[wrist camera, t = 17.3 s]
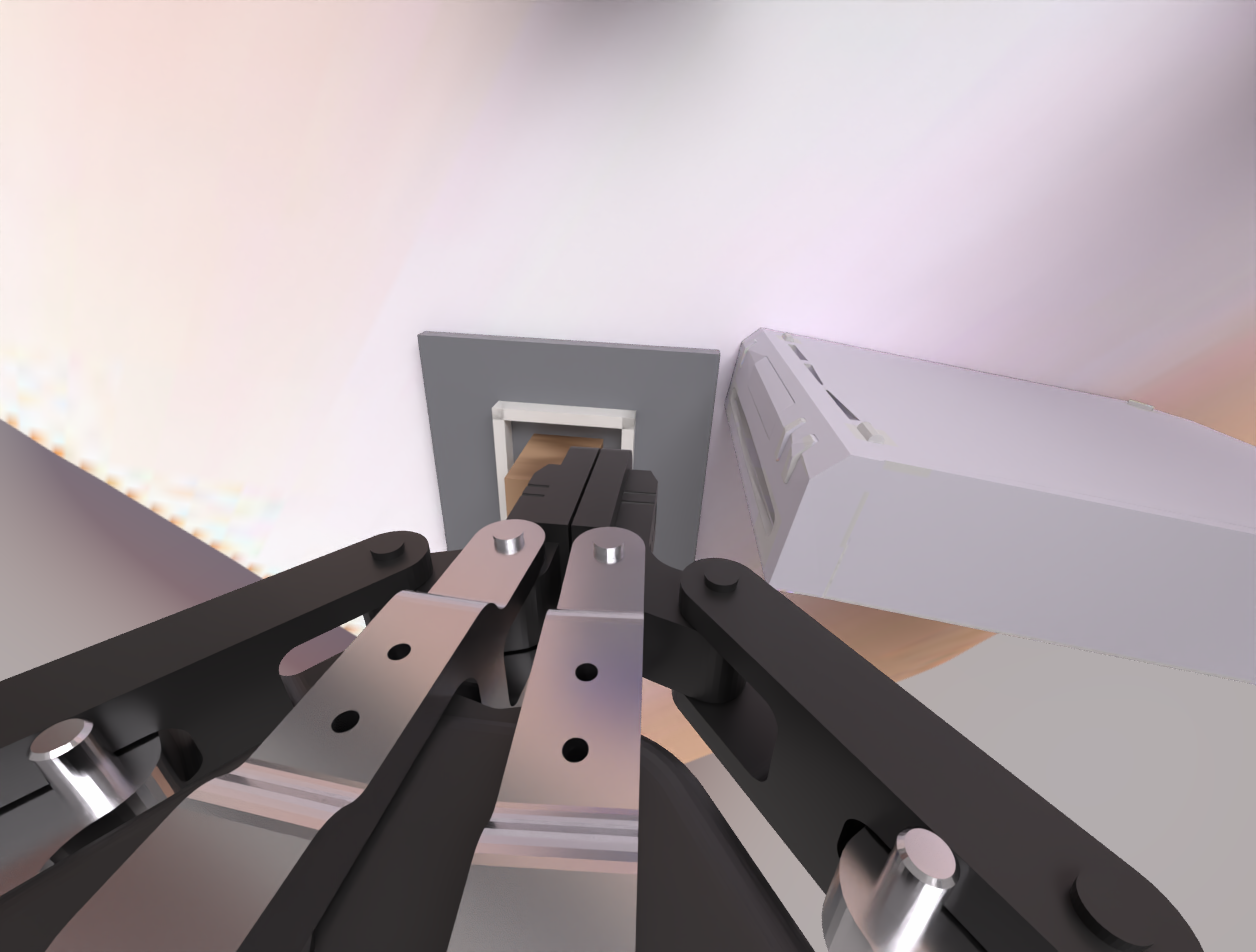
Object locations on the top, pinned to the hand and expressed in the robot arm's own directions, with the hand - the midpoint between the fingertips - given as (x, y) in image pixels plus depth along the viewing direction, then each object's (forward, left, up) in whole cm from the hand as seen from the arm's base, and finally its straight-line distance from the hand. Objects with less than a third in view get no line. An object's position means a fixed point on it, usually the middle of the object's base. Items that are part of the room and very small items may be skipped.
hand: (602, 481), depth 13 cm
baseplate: (+5, +11, -23) cm, 26 cm away
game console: (-19, +5, -24) cm, 31 cm away
